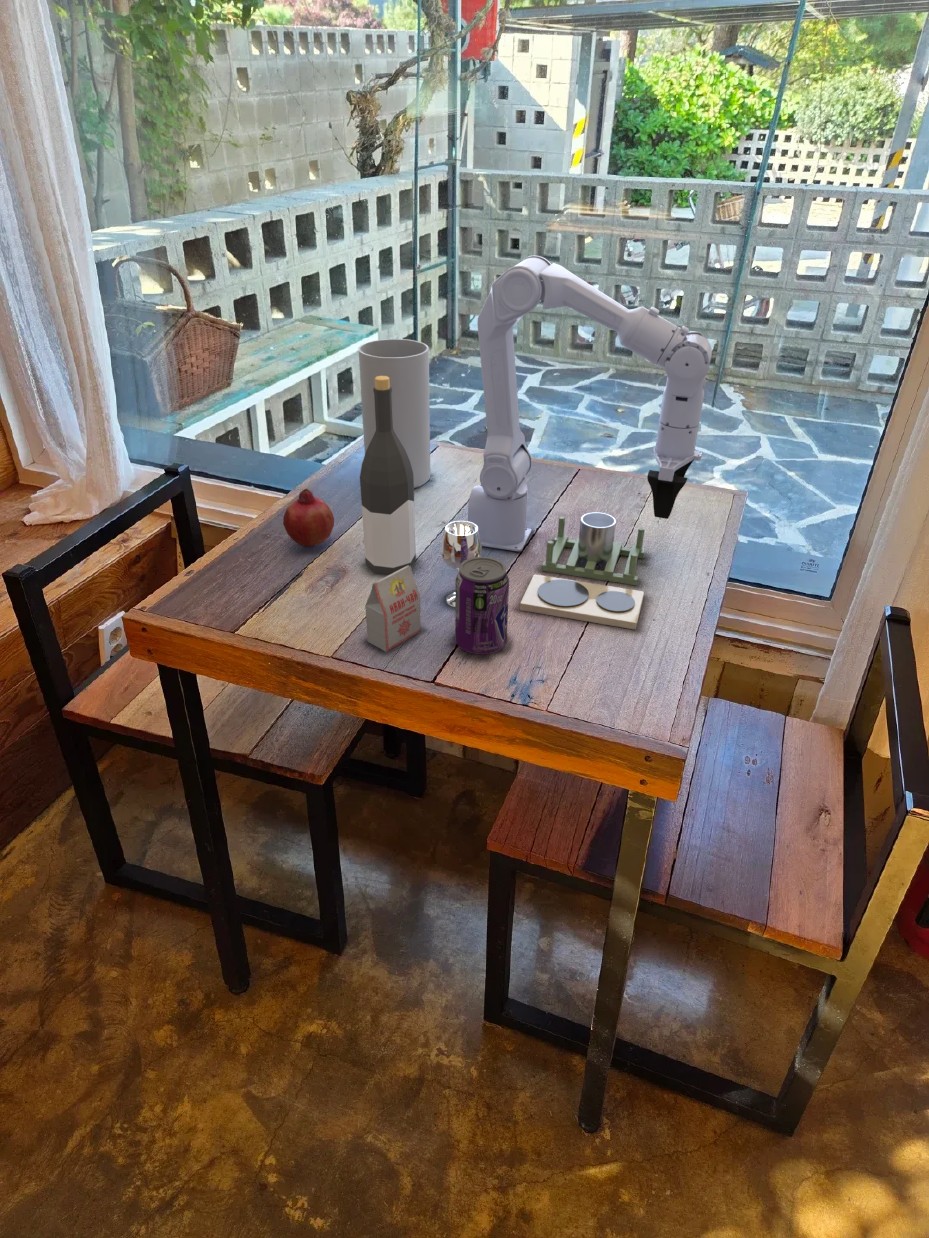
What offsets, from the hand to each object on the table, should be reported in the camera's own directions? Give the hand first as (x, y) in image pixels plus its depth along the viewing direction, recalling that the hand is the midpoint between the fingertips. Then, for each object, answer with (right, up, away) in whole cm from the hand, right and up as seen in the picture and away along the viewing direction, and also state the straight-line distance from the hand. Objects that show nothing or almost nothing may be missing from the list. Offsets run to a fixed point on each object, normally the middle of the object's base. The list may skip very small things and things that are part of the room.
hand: (665, 506), depth 127 cm
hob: (-14, -15, -5) cm, 21 cm away
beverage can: (-29, -21, -14) cm, 38 cm away
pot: (-10, -7, +5) cm, 13 cm away
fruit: (-57, -5, +10) cm, 58 cm away
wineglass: (-32, -15, -4) cm, 35 cm away
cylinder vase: (-44, +10, +33) cm, 56 cm away
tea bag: (-41, -20, -12) cm, 47 cm away
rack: (-10, -8, +6) cm, 14 cm away
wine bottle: (-43, -9, +5) cm, 44 cm away
